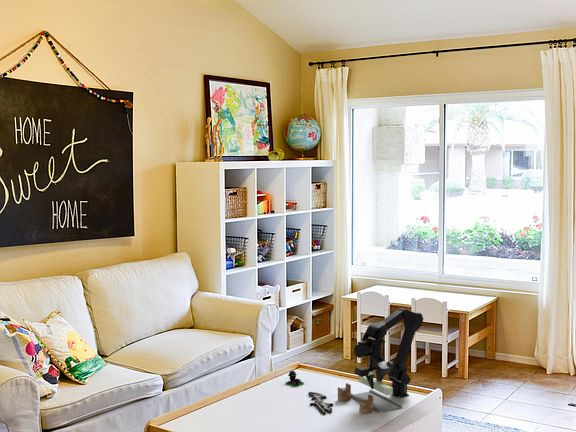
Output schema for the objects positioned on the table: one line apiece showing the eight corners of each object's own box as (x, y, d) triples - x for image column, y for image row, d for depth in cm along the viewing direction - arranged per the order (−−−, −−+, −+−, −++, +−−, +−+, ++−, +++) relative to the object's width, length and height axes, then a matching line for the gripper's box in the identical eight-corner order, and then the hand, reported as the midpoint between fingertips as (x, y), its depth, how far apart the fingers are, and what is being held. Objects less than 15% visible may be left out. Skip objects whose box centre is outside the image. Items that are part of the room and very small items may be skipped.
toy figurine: (289, 388, 342) (289, 376, 341) (281, 382, 351) (281, 370, 350) (308, 385, 346) (308, 373, 345) (299, 379, 355) (299, 368, 354)
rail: (358, 381, 329) (358, 375, 329) (364, 380, 331) (364, 374, 330) (386, 395, 310) (386, 388, 310) (392, 394, 311) (392, 387, 311)
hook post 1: (347, 398, 326) (347, 383, 326) (350, 400, 324) (350, 384, 323) (337, 399, 324) (337, 384, 324) (341, 401, 321) (341, 386, 321)
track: (371, 392, 334) (371, 389, 334) (402, 408, 313) (402, 404, 313) (349, 396, 329) (349, 393, 328) (379, 412, 307) (379, 409, 307)
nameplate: (300, 392, 331) (321, 390, 334) (300, 395, 331) (321, 394, 334) (318, 412, 305) (340, 410, 307) (318, 416, 305) (340, 414, 307)
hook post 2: (369, 410, 310) (369, 394, 310) (373, 412, 308) (373, 396, 307) (359, 412, 308) (359, 396, 308) (363, 414, 305) (363, 398, 305)
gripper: (367, 361, 308) (367, 396, 309) (403, 355, 316) (403, 390, 317) (353, 354, 317) (353, 389, 319) (388, 349, 326) (388, 383, 327)
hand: (375, 388), depth 320 cm, fingers closed on rail, 3 cm apart
